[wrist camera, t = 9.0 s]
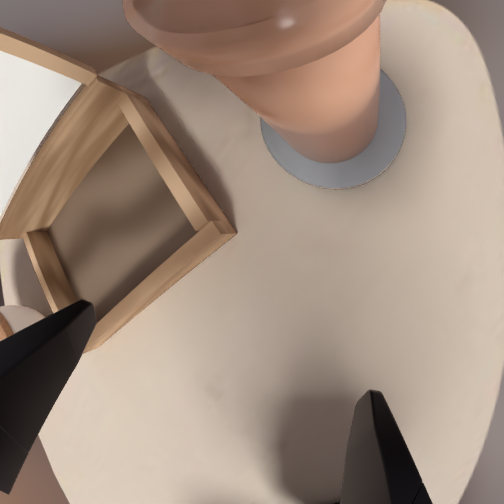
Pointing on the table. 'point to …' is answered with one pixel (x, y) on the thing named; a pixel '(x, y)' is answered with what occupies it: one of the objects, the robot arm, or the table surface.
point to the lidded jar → (16, 319)
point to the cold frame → (112, 209)
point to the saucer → (358, 167)
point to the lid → (31, 100)
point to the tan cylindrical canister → (282, 62)
